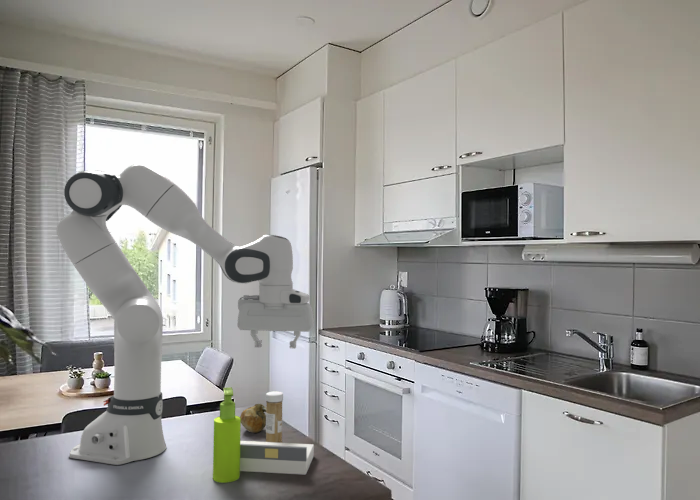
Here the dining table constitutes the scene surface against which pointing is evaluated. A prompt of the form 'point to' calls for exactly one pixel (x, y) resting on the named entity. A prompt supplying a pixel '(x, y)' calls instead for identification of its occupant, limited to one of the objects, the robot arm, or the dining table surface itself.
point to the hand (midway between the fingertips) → (275, 347)
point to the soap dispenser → (226, 441)
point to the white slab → (275, 457)
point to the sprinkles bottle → (274, 416)
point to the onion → (254, 418)
